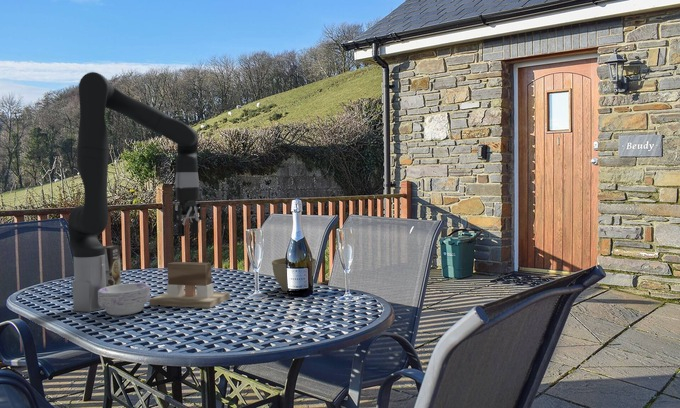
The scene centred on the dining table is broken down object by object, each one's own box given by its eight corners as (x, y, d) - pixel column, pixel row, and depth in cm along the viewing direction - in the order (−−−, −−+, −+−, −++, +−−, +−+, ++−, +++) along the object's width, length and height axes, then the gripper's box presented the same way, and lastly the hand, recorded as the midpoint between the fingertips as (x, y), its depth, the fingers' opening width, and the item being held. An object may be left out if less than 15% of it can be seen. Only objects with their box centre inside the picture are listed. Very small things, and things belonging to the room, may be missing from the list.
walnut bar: (205, 285, 183) (205, 264, 182) (168, 284, 186) (167, 263, 186) (211, 283, 187) (211, 262, 186) (174, 282, 190) (173, 261, 190)
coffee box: (111, 291, 207) (110, 248, 206) (94, 291, 207) (92, 248, 206) (121, 286, 216) (120, 244, 215) (105, 286, 216) (103, 245, 215)
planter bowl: (293, 283, 215) (293, 255, 214) (325, 288, 205) (325, 259, 204) (263, 290, 202) (262, 261, 202) (295, 296, 192) (294, 265, 192)
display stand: (210, 308, 177) (209, 289, 177) (149, 305, 183) (148, 286, 183) (229, 298, 191) (229, 281, 190) (173, 295, 196) (172, 279, 196)
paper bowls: (92, 312, 175) (91, 287, 174) (140, 304, 184) (139, 280, 184) (107, 321, 163) (106, 294, 163) (158, 312, 173) (157, 287, 172)
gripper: (188, 186, 193) (189, 232, 193) (165, 186, 179) (166, 237, 179) (208, 185, 190) (209, 233, 191) (185, 186, 177) (187, 237, 177)
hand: (188, 234), depth 185 cm, fingers open, 8 cm apart
